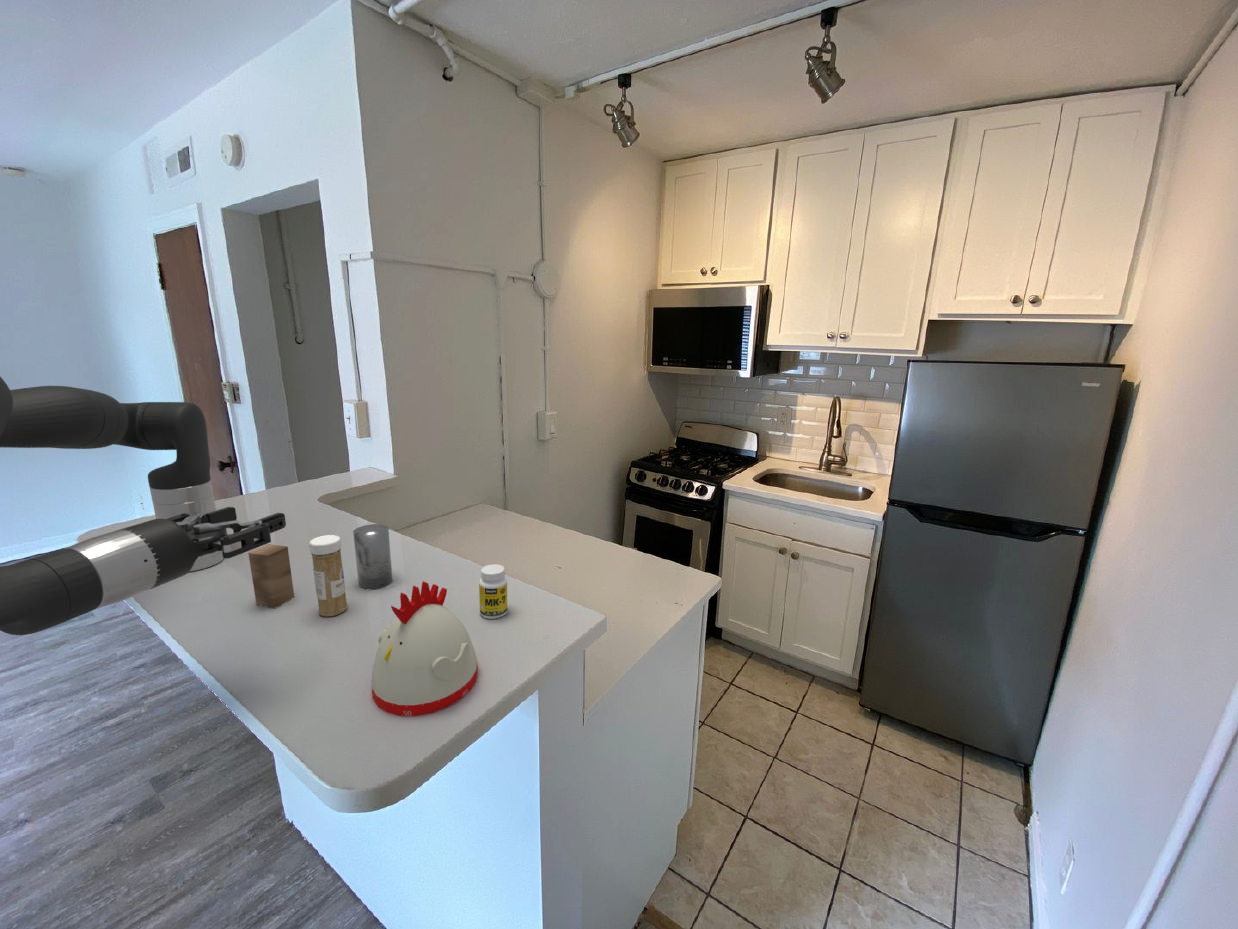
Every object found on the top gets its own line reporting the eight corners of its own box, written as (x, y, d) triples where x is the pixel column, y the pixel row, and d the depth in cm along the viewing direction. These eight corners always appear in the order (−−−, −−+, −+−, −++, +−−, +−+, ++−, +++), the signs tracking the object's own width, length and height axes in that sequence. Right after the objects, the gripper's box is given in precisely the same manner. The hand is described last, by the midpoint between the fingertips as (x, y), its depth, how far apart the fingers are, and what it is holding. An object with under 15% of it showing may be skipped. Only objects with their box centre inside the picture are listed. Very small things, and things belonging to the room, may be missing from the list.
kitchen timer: (351, 689, 68) (340, 589, 64) (434, 640, 80) (429, 554, 76) (416, 732, 61) (408, 623, 57) (497, 672, 73) (495, 578, 69)
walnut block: (256, 605, 88) (248, 552, 85) (276, 594, 92) (268, 544, 89) (275, 608, 87) (267, 555, 85) (294, 597, 91) (287, 546, 88)
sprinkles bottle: (349, 613, 86) (341, 541, 83) (318, 620, 84) (309, 546, 81) (346, 601, 90) (338, 532, 87) (317, 608, 87) (308, 537, 84)
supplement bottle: (483, 622, 85) (481, 577, 83) (477, 609, 89) (475, 565, 87) (510, 616, 87) (509, 572, 85) (503, 603, 91) (502, 561, 89)
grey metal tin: (351, 587, 95) (345, 533, 92) (372, 573, 101) (368, 522, 98) (378, 591, 94) (374, 537, 91) (399, 577, 100) (395, 526, 97)
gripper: (171, 538, 53) (297, 495, 69) (72, 524, 56) (213, 486, 72) (183, 601, 55) (303, 546, 70) (86, 584, 58) (221, 535, 73)
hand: (258, 516), depth 71 cm, fingers open, 8 cm apart
